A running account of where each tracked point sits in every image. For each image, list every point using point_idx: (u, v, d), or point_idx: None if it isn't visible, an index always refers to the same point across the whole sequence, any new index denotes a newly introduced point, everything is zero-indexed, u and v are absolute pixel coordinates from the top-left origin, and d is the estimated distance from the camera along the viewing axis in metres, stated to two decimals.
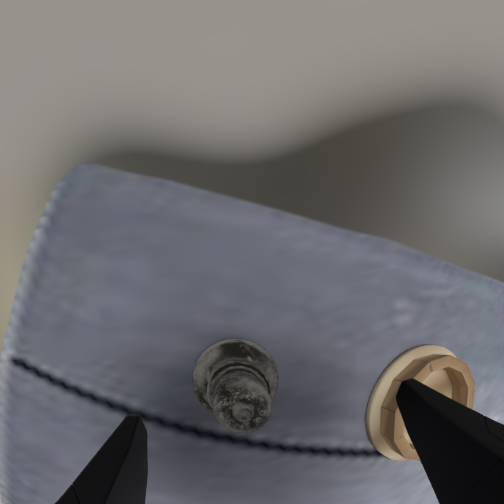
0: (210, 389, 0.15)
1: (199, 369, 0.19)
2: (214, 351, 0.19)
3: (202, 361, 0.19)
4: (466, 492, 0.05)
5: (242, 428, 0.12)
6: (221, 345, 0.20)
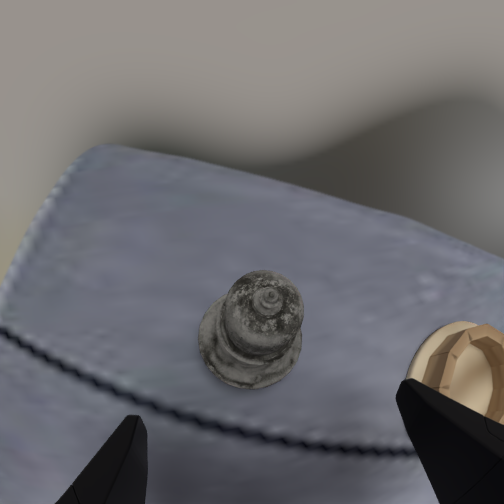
0: (221, 316, 0.13)
1: (207, 322, 0.16)
2: None
3: (211, 312, 0.17)
4: (466, 493, 0.05)
5: (265, 332, 0.09)
6: None
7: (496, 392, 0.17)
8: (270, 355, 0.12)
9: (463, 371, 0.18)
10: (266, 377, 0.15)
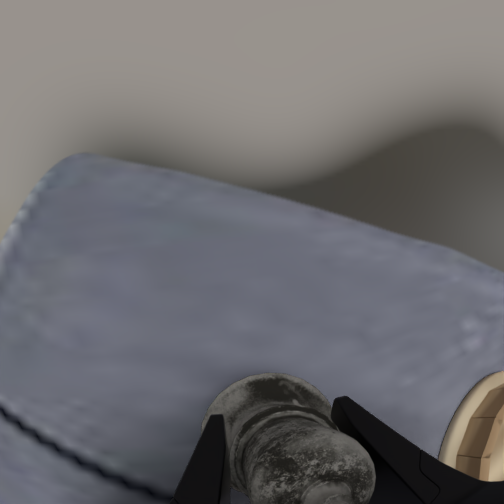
0: (235, 453, 0.07)
1: None
2: (238, 392, 0.11)
3: (217, 408, 0.11)
4: None
5: None
6: (249, 383, 0.12)
7: None
8: None
9: None
10: None
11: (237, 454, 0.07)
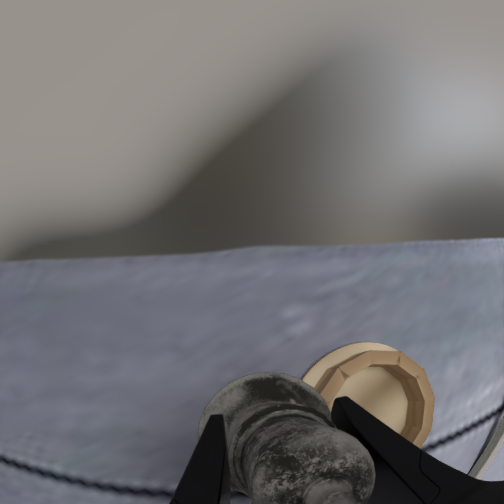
0: (234, 452, 0.07)
1: None
2: (235, 392, 0.11)
3: (215, 407, 0.11)
4: None
5: None
6: (246, 382, 0.12)
7: (411, 405, 0.19)
8: None
9: (358, 398, 0.20)
10: None
11: (236, 453, 0.07)
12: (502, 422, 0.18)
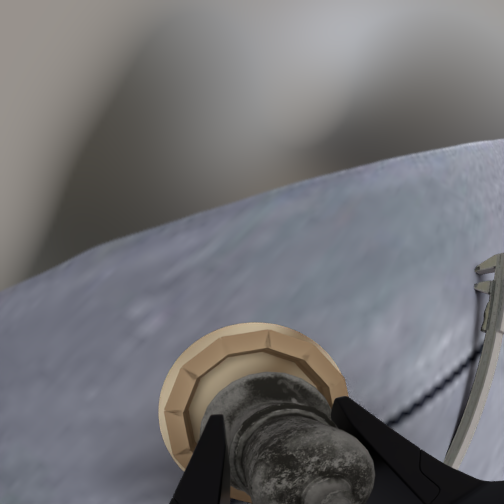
0: (235, 451, 0.07)
1: None
2: (237, 391, 0.11)
3: (216, 406, 0.11)
4: None
5: None
6: (248, 381, 0.12)
7: (320, 391, 0.17)
8: None
9: None
10: None
11: (237, 452, 0.07)
12: (478, 375, 0.17)
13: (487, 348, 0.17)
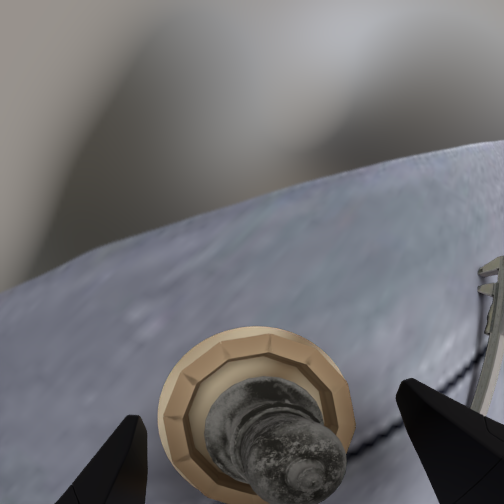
0: (235, 442, 0.09)
1: (214, 417, 0.12)
2: (237, 392, 0.13)
3: (219, 406, 0.13)
4: (466, 492, 0.05)
5: (299, 502, 0.06)
6: (247, 384, 0.13)
7: (322, 396, 0.16)
8: None
9: None
10: None
11: (236, 442, 0.09)
12: (481, 378, 0.17)
13: (491, 351, 0.17)
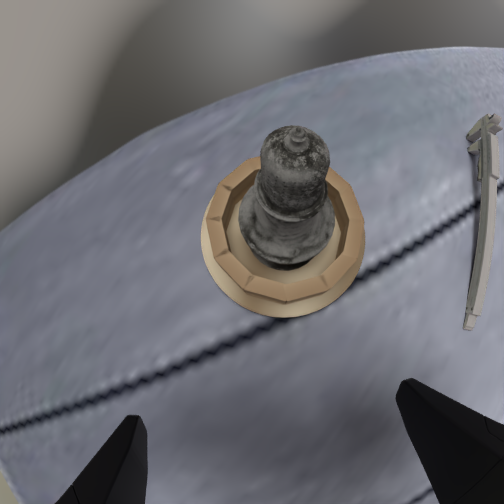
0: (258, 181, 0.14)
1: (246, 204, 0.18)
2: None
3: (249, 195, 0.18)
4: (466, 493, 0.05)
5: (297, 168, 0.11)
6: None
7: (334, 207, 0.21)
8: (305, 211, 0.14)
9: None
10: (304, 251, 0.17)
11: (259, 180, 0.14)
12: (481, 216, 0.20)
13: (484, 191, 0.20)
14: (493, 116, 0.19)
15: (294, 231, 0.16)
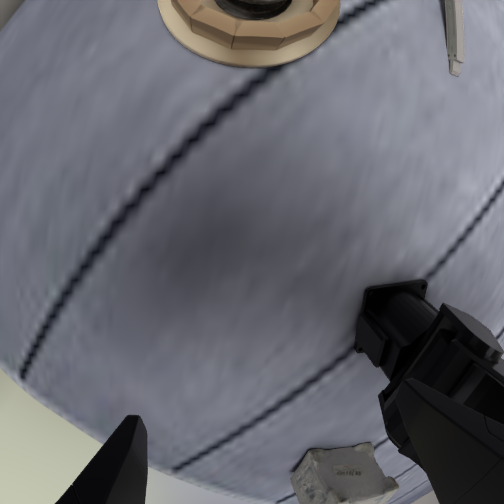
0: None
1: None
2: None
3: None
4: (466, 492, 0.05)
5: None
6: None
7: None
8: None
9: None
10: None
11: None
12: None
13: None
14: None
15: None
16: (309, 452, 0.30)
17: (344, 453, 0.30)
